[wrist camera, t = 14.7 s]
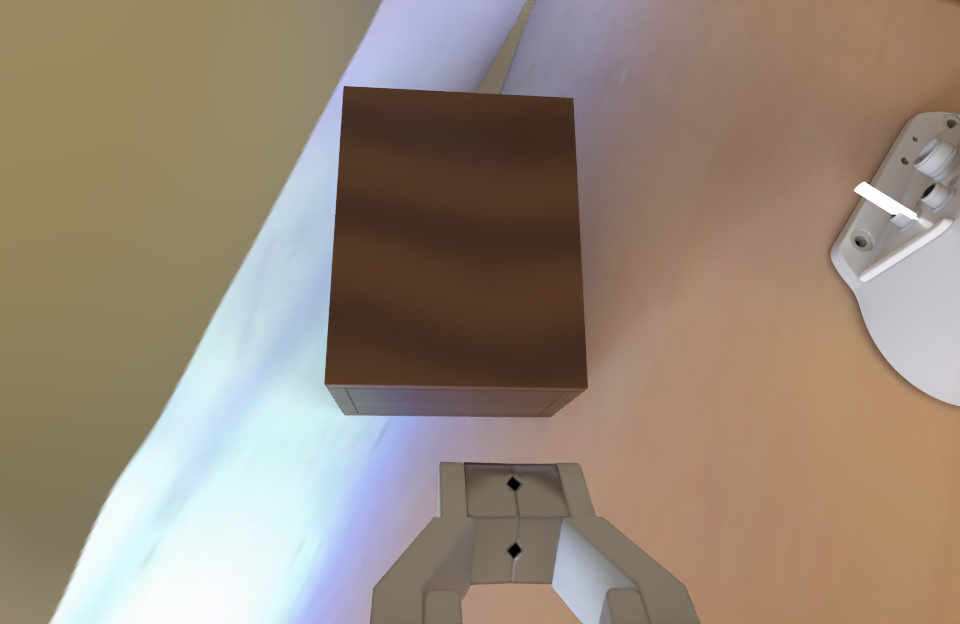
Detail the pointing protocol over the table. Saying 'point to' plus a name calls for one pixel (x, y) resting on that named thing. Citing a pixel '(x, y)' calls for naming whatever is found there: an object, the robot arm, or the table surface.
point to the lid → (456, 244)
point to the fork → (505, 54)
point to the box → (450, 402)
